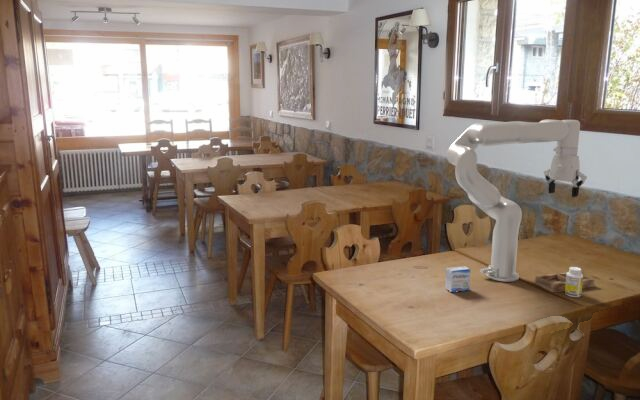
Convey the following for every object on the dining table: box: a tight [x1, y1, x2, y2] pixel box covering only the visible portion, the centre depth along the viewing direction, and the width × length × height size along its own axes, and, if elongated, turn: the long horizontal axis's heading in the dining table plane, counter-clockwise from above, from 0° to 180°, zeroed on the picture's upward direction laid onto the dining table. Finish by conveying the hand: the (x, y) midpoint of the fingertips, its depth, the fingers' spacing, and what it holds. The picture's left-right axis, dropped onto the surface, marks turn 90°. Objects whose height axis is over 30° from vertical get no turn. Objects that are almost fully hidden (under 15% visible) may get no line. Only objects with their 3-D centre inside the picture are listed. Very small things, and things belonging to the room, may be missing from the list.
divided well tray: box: [534, 271, 595, 293], centre depth 198 cm, size 19×10×3 cm, turn 106°
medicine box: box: [445, 265, 471, 293], centre depth 194 cm, size 8×4×9 cm, turn 106°
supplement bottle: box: [564, 266, 584, 298], centre depth 188 cm, size 6×6×10 cm
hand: (562, 194), depth 204 cm, fingers open, 9 cm apart
